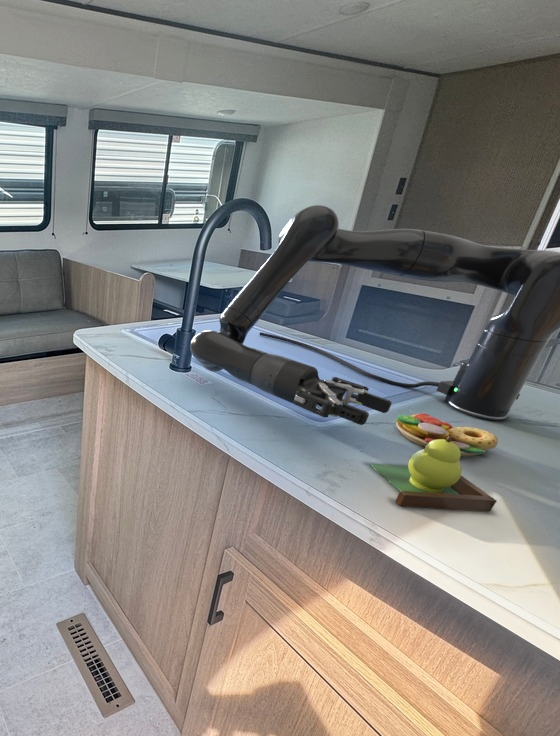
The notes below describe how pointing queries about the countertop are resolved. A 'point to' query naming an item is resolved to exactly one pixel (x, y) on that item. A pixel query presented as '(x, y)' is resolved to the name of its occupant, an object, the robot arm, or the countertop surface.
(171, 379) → the countertop surface
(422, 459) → the pear
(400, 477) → the corner fence
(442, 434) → the toy food set
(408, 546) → the countertop surface
